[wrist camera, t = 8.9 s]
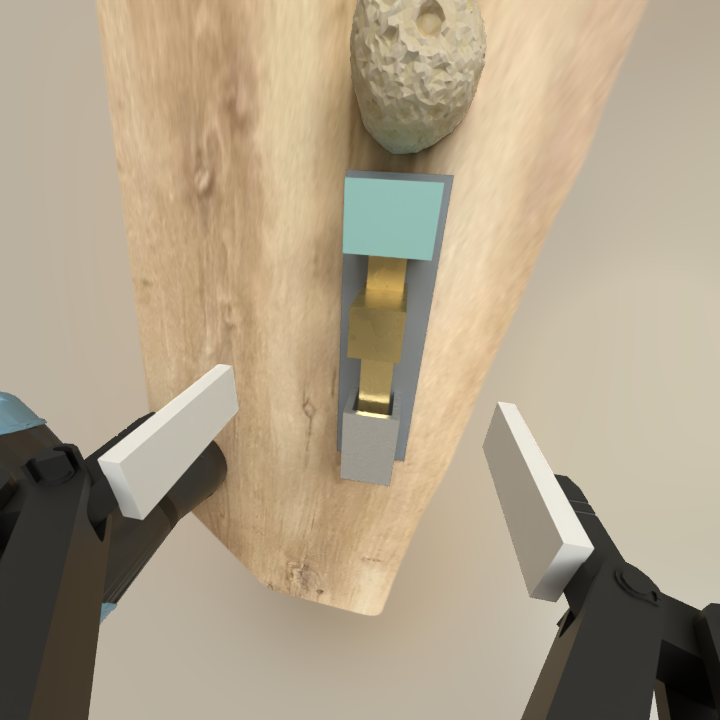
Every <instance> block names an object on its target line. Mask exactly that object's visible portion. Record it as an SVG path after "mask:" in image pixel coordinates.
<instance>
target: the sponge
mask: <svg viewBox="0 0 720 720" xmlns="http://www.w3.org/2000/svg"><path fill="white" fill-rule="evenodd" d="M483 22H484V21H483V19H482V17H481V13H480V9H479V7H478V3H477V0H357V6H356V10H355V14H354V16H353V24H352V32H351V37H350V51H351V57H350V62H351V71H352V81H353V85H354V90H355V94H356V97H357V101H358V105H359V108H360V111H361V119H362V120H363V124H364V128H365V129H366V130H367V131H368V132H369V133H370V134H371V136H372V137H373V138H374V139H375V140H376V141H377V142H378V143H379V144H380V145H381V146H382V147H383V148H385V149H386V150H387V151H389V152H391V153H393V154H408V153H412V152H413V153H418V152H419V151H421V150H422V149H425V148H428V147H430V146H432V145H434V144H435V143H437V142H438V141H439V140H440V139H442V138H443V137H445V136H446V135H448V134H449V133H452V132H453V130H454V128H455V127H456V126H457V125H458V124H459V123H460V121H461V120H462V119H463V117H465V115H466V113H467V111H468V109H469V107H470V105H471V102H472V100H473V98H474V95H475V92H476V91H477V85H478V82H479V79H480V77H481V72H482V70H483V68H484V66H485V60H484V57H485V52H486V33H485V29H484V23H483Z"/></svg>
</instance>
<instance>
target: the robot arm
mask: <svg viewBox="0 0 720 720" xmlns="http://www.w3.org/2000/svg"><path fill="white" fill-rule="evenodd" d="M238 410H239V407H238V400H237V394H236V387H235V380H234V374H233V367H232V366H229V365H222V364H218V365H216V366H215V367H214V368H213V369H211V370H210V371H209V372H208V373H206V374H205V375H204V376H202V377H201V378H200V379H199V380H197V381H196V382H195V383H194V384H192V385H191V386H190V387H189V388H187V389H186V390H185V391H183V392H182V393H181V394H180V395H178V396H177V397H176V398H175V399H173V400H172V401H171V402H170V403H168V404H167V405H166V406H164V407H163V408H162V409H161V410H159V411H158V412H157V413H156V412H152V413H150V414H147V415H145V416H143V417H142V418H139V419H138V420H136V421H135V422H134V423H132V424H131V425H130V426H128V427H127V429H124V430H123V431H122V432H120V433H119V434H118V436H115V437H114V438H112V439H111V440H110V441H109V442H107V443H106V444H105V445H103V446H102V447H101V448H100V449H98V450H97V451H95V452H94V453H93V454H91V455H90V456H89V457H87V458H86V459H85V460H84V459H83V457H82V455H81V453H80V451H79V449H78V447H77V446H75V445H74V444H66V443H65V444H63V443H62V442H61V441H60V440H59V439H58V437H57V436H56V435H55V434H54V433H53V432H52V431H51V430H50V429H49V428H48V427H47V426H46V425H45V423H47V422H46V420H45V419H41V418H39V417H38V416H37V415H36V414H35V413H34V412H33V411H32V410H31V409H29V408H28V407H27V406H26V405H25V404H24V403H23V402H22V401H21V400H20V399H19V398H17V397H16V396H14V395H12V394H9V393H5V392H0V720H88V715H89V706H90V699H91V691H92V682H93V674H94V665H95V657H96V650H97V641H98V633H99V625H100V624H101V623H102V622H103V620H104V619H105V618H106V616H108V614H109V613H110V612H111V611H112V610H114V609H115V608H116V606H117V602H118V601H119V600H120V598H121V597H122V596H123V594H124V593H125V592H126V591H127V589H128V588H129V586H130V585H131V584H132V582H133V581H134V580H135V578H136V577H137V576H138V574H139V573H140V572H141V570H142V569H143V568H144V566H145V565H146V564H147V562H148V561H149V560H150V558H151V557H152V556H153V554H154V553H155V552H156V550H157V549H158V548H159V546H160V545H161V544H162V542H163V541H164V540H165V538H166V537H167V536H168V534H169V533H170V532H171V530H172V529H173V528H174V526H175V525H176V524H177V522H178V521H179V520H180V519H181V518H182V517H184V516H185V515H186V514H187V513H189V512H190V511H191V510H192V509H194V508H195V507H196V506H197V505H199V504H200V503H201V502H202V501H203V500H205V499H206V498H208V497H209V496H211V495H212V494H213V493H214V492H215V491H216V490H217V488H218V487H219V485H220V484H221V483H222V481H223V480H224V478H225V476H226V471H227V467H226V461H225V458H224V456H223V454H222V452H221V450H220V449H219V447H218V446H217V445H216V443H215V442H214V441H213V439H214V438H215V437H216V435H217V434H218V433H219V432H220V431H221V430H222V428H223V427H224V426H225V425H226V424H227V423H228V422H229V420H230V419H231V418H232V417H233V416H234V415H235V414H236V412H237V411H238ZM483 449H484V453H485V456H486V459H487V462H488V465H489V469H490V472H491V475H492V478H493V481H494V484H495V487H496V491H497V494H498V497H499V500H500V504H501V507H502V510H503V513H504V515H505V519H506V523H507V526H508V529H509V532H510V535H511V538H512V542H513V545H514V548H515V551H516V555H517V558H518V561H519V564H520V567H521V571H522V574H523V577H524V580H525V583H526V586H527V590H528V593H529V596H530V597H532V598H536V599H541V600H546V601H551V602H557V600H558V599H559V598H560V596H561V595H562V593H563V592H564V594H565V596H566V599H567V601H568V604H569V606H570V607H569V609H568V610H567V611H566V613H565V614H564V615H563V617H562V618H561V619H560V621H559V622H558V623H557V625H558V626H559V627H560V628H559V630H558V632H557V635H556V637H555V640H554V642H553V644H552V647H551V649H550V651H549V654H548V656H547V659H546V661H545V663H544V666H543V668H542V670H541V673H540V675H539V678H538V680H537V683H536V685H535V687H534V690H533V692H532V694H531V697H530V699H529V702H528V704H527V706H526V709H525V711H524V714H523V716H522V719H521V720H649V718H650V711H651V705H652V698H653V691H655V698H656V704H657V711H658V718H659V720H720V604H715V603H710V604H709V605H708V606H706V607H705V608H704V609H703V610H702V611H701V610H698V609H696V608H694V607H692V606H689V605H687V604H685V603H683V602H681V601H679V600H676V599H674V598H672V597H670V596H667V595H665V594H663V593H662V592H660V590H659V588H658V587H657V586H656V585H655V584H654V583H653V581H652V580H651V579H650V578H649V577H648V576H646V575H645V574H644V573H643V572H642V571H640V570H639V569H638V568H636V567H634V566H633V565H631V564H629V563H627V562H625V560H624V559H623V557H622V556H621V554H620V553H619V551H618V549H617V548H616V546H615V544H614V543H613V541H612V540H611V538H610V536H609V535H608V533H607V531H606V530H605V528H604V527H603V525H602V523H601V522H600V520H599V519H598V517H597V516H595V512H594V510H593V509H592V507H591V506H590V505H589V504H588V501H587V499H586V498H585V496H584V494H583V493H582V491H581V490H580V488H579V487H578V486H577V485H576V484H574V483H573V482H572V481H571V480H570V479H569V478H568V477H567V476H562V475H555V474H553V473H552V471H551V469H550V467H549V465H548V463H547V462H546V460H545V458H544V456H543V454H542V453H541V451H540V449H539V447H538V445H537V444H536V442H535V440H534V438H533V437H532V435H531V433H530V431H529V429H528V427H527V425H526V424H525V422H524V420H523V418H522V416H521V415H520V413H519V411H518V409H517V408H516V405H515V404H510V403H503V402H497V405H496V408H495V411H494V414H493V417H492V420H491V423H490V426H489V429H488V432H487V435H486V438H485V441H484V444H483Z"/></svg>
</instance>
